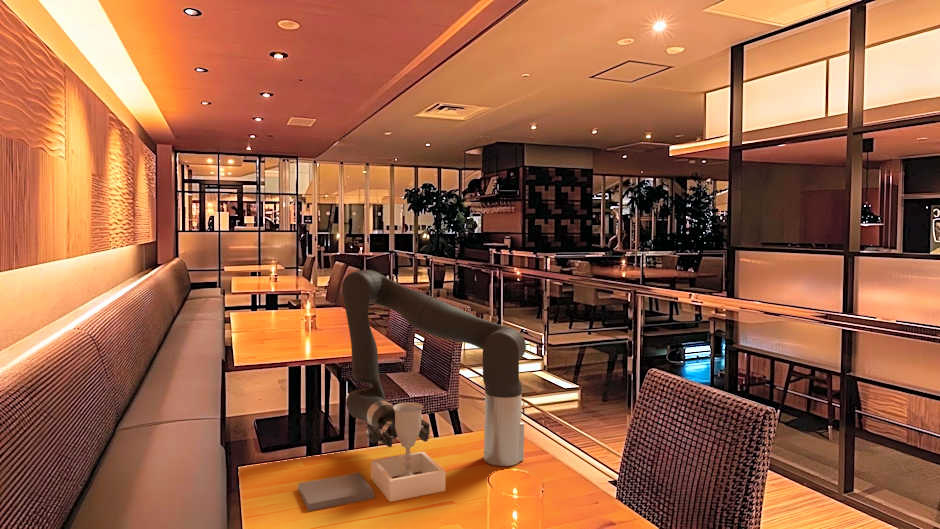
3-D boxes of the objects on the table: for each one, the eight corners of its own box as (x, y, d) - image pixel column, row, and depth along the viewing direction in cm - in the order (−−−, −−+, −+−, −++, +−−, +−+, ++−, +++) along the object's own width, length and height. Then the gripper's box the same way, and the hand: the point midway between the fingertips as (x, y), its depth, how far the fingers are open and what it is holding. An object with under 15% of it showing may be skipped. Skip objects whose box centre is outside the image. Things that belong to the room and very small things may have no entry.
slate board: (359, 479, 141) (359, 472, 141) (374, 498, 131) (374, 491, 131) (298, 489, 135) (297, 483, 135) (308, 511, 125) (308, 503, 125)
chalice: (417, 493, 134) (418, 412, 133) (388, 489, 135) (388, 410, 134) (426, 479, 141) (427, 403, 140) (398, 476, 143) (399, 401, 141)
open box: (423, 469, 147) (423, 451, 147) (445, 490, 135) (445, 471, 135) (371, 478, 141) (371, 459, 141) (389, 501, 130) (390, 481, 129)
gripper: (357, 407, 148) (378, 428, 134) (412, 401, 155) (438, 419, 140) (357, 438, 149) (378, 461, 134) (412, 430, 155) (437, 451, 141)
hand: (408, 440), depth 137 cm, fingers open, 8 cm apart
